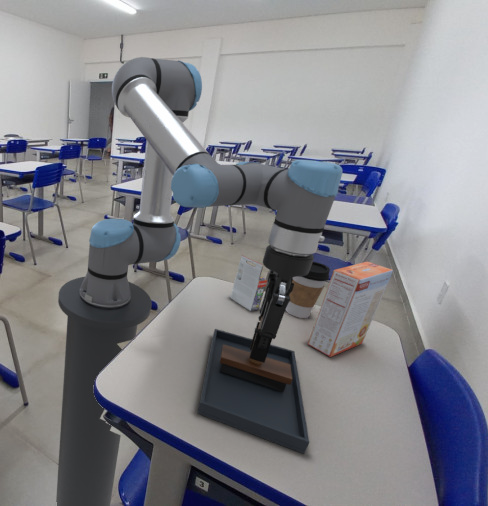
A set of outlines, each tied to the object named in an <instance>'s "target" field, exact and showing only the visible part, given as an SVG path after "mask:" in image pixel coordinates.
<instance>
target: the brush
mask: <svg viewBox="0 0 488 506" xmlns="http://www.w3.org/2000/svg"><path fill="white" fill-rule="evenodd" d="M262 319H263V316H262V317H261V321H259V322H260V324H259V327H258V329H260V326H261V322H262ZM256 334H257V333H256ZM254 341H255V340H254ZM253 344H254V343H253ZM252 347H253V346H252ZM251 350H252V349H251ZM250 354H251V353H250V352H247V351H244V350H240V349H237V348H234V347H230V346H227V345H224V344H223V346H222V350H221V357H220V363H221V366H220V372H223V373H226V374H229V375H232V376H235V377H238V378H241V379H244V380H247V381H250V382H253V383H256V384H260V385H263V386H266V387H269V388H272V389H275V390H278V391H281V392H284V390H285V387H286V384H288V385H290V384H291V382H292V373H291V366H290V364H287V363H284V362H281V361H277V360H274V359H271V358H267V357H266V360H265V363H263V362H260V361H256V360H253V359H250Z"/></svg>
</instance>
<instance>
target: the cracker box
mask: <svg viewBox="0 0 488 506" xmlns="http://www.w3.org/2000/svg"><path fill="white" fill-rule="evenodd" d="M393 272H394V269H392V268H389V267H385V266H382V265H379V264H377V263H373V262H371V261H364V262H360V263H356V264H352V265H348V266H344V267H341V268H340V267H339V268H336V269H333V271H332V274H331V277H330V280H329V283H328V285H327V287H326V291H325V294H324V297H323V299H322V303H321V306H320V308H319V311H318V314H317V316H316V320H315V322H314V325H313V327H312V331H311V334H310V337H309V339H308V342H307V345H308V346H310V347H312V348H313V349H315V350H317V351H318V352H321V353H322V354H324V355H326V356H327V357H329V358H332V357H334V356H336V355H339V354H341V353H344V352H346V351H348V350H350V349H353V348H355V347H357V346H360V345H362V344H363V343H364V340H365V338H366V335H367V333H368V331H369V328H370V326H371V324H372V322H373V319H374V317H375V314H376V312H377V310H378V307H379V305H380V303H381V300H382V298H383V295H384V294H385V291H386V289H387V286H388V284H389V282H390V279H391V277H392V275H393Z"/></svg>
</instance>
